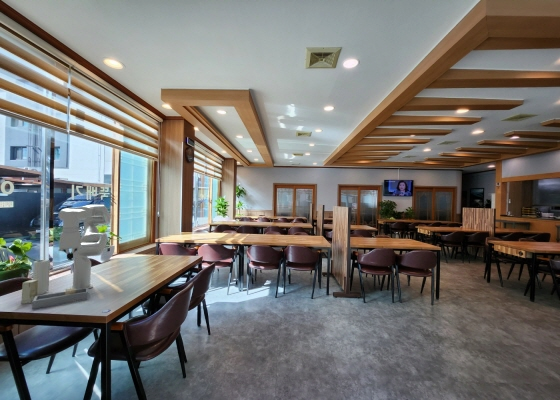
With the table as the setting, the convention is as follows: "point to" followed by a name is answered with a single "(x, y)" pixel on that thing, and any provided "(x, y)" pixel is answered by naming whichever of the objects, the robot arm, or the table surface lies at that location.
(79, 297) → the grey shallow box
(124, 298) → the table surface
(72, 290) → the maple block
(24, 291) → the skincare box
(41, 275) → the paper towel roll
